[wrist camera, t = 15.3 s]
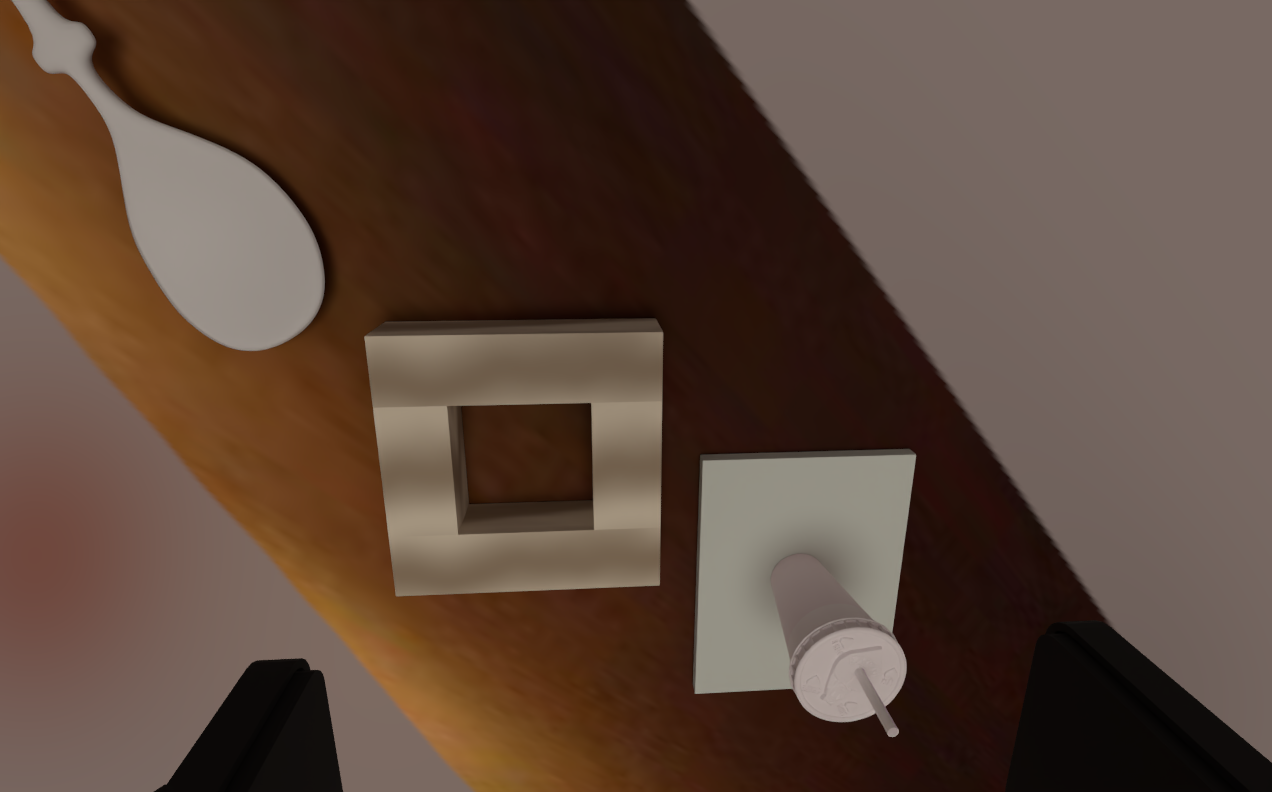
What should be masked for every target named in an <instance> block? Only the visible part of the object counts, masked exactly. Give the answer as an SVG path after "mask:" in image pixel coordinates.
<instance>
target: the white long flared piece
mask: <svg viewBox="0 0 1272 792" xmlns="http://www.w3.org/2000/svg"><path fill="white" fill-rule="evenodd" d="M12 2H13V3H14V4H15V6H16V7H17V9H18V10H19V12H20V13H21V15H22V16H23V18H24V20H25V21H26V23H27V24H28V26H29V28H30V31H31V33H32V35H33V41H34V45H33V51H32V54H33V57H34V59H35V61H36V62H37V63H38V65H39V66H40V67H41V68H42V69H43V70H44V71H46V72H47V73H51V74H56V73H65V74H68V75H69V76H71V77H72V78H73V79H74V80H75V81H76V82H77V83H78V84H79V85H80V87H81V88H82V89H83V90H84V92H85V93H86V94H87V95H88V97H89V98H90V99H91V101H92V102H93V104H94V105H95V106H96V108H97V110H98V111H99V113H100V114H101V116H102V118H103V119H104V121H105V123H106V125H107V127H108V129H109V131H110V134H111V136H112V139H113V143H114V146H115V150H116V155H117V160H118V165H119V170H120V176H121V183H122V189H123V195H124V201H125V207H126V212H127V217H128V221H129V225H130V229H131V232H132V235H133V238H134V240H135V243H136V245H137V248H138V250H139V252H140V254H141V256H142V258H143V260H144V262H145V263H146V265H147V267H148V269H149V270H150V272H151V274H152V275H153V277H154V279H155V280H156V282H157V283H158V285H159V287H160V288H161V290H162V291H163V293H164V294H165V296H166V297H167V298H168V300H169V301H170V302H171V304H172V305H173V306H174V308H175V309H176V310H177V311H178V312H179V313H180V314H181V315H182V316H183V317H184V318H185V319H186V320H187V321H188V322H189V323H190V324H191V325H192V326H194V327H195V328H196V329H197V330H199V331H200V332H201V333H203V334H204V335H206V336H207V337H209V338H210V339H212V340H214V341H216V342H217V343H219V344H222V345H224V346H226V347H229V348H232V349H237V350H242V351H259V350H265V349H269V348H273V347H276V346H278V345H281V344H283V343H285V342H287V341H289V340H290V339H292V338H294V337H295V336H297V335H298V334H299V333H301V332H302V331H303V330H304V329H305V328H306V327H307V326H308V325H309V324H310V323H311V322H312V320H313V319H314V318H315V316H316V314H317V312H318V311H319V308H320V306H321V304H322V300H323V297H324V290H325V275H324V267H323V261H322V257H321V253H320V250H319V246H318V243H317V241H316V238H315V236H314V234H313V232H312V230H311V228H310V226H309V224H308V223H307V221H306V219H305V218H304V216H303V215H302V213H301V212H300V210H299V209H298V208H297V206H296V205H295V204H294V203H293V201H292V200H291V199H290V198H289V196H288V195H287V194H286V193H285V192H284V191H283V190H282V189H281V188H280V186H279V185H278V184H277V183H276V182H275V181H273V180H272V179H271V178H270V177H269V176H268V175H267V174H266V173H265V172H263V171H262V170H261V169H260V168H258V167H257V166H256V165H254V164H253V163H251V162H250V161H248V160H247V159H245V158H243V157H242V156H240V155H238V154H236V153H234V152H232V151H230V150H228V149H226V148H224V147H222V146H220V145H217V144H215V143H213V142H210V141H208V140H206V139H203V138H201V137H198V136H195V135H193V134H190V133H188V132H185V131H182V130H180V129H177V128H174V127H171V126H168V125H166V124H163V123H160V122H158V121H156V120H153V119H151V118H149V117H147V116H145V115H143V114H141V113H139V112H137V111H136V110H134V109H133V108H132V107H130V106H129V105H128V104H126V103H125V102H124V101H123V100H121V99H120V98H119V97H118V96H117V95H116V94H115V93H114V92H113V91H112V90H111V89H110V88H109V87H108V86H107V85H106V84H105V83H104V82H103V80H102V79H101V78H100V76H99V75H98V73H97V72H96V70H95V68H94V66H93V63H92V55H93V52H94V49H95V47H96V39H95V37H94V35H93V34H92V32H91V31H90V30H89V28H88V27H87V26H86V25H84V24H83V23H82V22H75V21H70V20H68V19H65V18H64V17H62V16H61V15H60V14H59V13H58V12H57V11H56V10H55V9H54V8H53V7H52V6H51V4H50V3H49V2H48V1H47V0H12Z"/></svg>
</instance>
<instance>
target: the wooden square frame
mask: <svg viewBox="0 0 1272 792" xmlns="http://www.w3.org/2000/svg"><path fill="white" fill-rule="evenodd" d="M364 337H365V346H366V354H367V362H368V370H369V379H370V387H371V395H372V403H373V411H374V420H375V428H376V436H377V444H378V453H379V461H380V469H381V477H382V486H383V494H384V502H385V510H386V518H387V527H388V535H389V543H390V551H391V560H392V568H393V576H394V584H395V593H396V596H415V595H439V594H463V593H487V592H511V591H535V590H559V589H583V588H607V587H631V586H655V585H660V524H661V450H662V376H663V331H662V329H661V327H660V325H659V324H658V322H657V320H656V318H632V319H556V320H480V321H403V322H384V323H383V324H381V325H380V326H378V327H377V328H376V329H374V330H373V331H371V332H370V333H369V334H367V335H366V336H364ZM562 403H591V424H592V475H593V500H582V501H551V502H520V503H489V504H469V498H468V486H467V473H466V461H465V449H464V436H463V424H462V411H461V406H471V405H517V404H562Z"/></svg>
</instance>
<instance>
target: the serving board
mask: <svg viewBox="0 0 1272 792" xmlns="http://www.w3.org/2000/svg"><path fill="white" fill-rule="evenodd" d="M915 460H916V454H915V453H914V452H912V451H911V450H910V449H886V450H850V451H814V452H778V453H742V454H707V455H700V478H699V509H698V540H697V571H696V603H695V634H694V665H693V687H694V691H695V694H699V693H718V692H737V691H755V690H774V689H793V688H792V687H791V683H790V678H789V666H790V658H789V654H788V649H787V645H786V641H785V637H784V633H783V629H782V625H781V621H780V617H779V613H778V609H777V605H776V601H775V597H774V593H773V589H772V585H771V575H772V572H773V570H774V568H775V566H776V565H777V564H778V563H779V562H780V561H781V560H782V559H784V558H786V557H788V556H790V555H794V554H808V555H811V556H813V557H815V558H816V559H817V560H818V561H819V562H820V563H821V564H822V565H823V566H824V567H825V568H826V569H827V570H828V572H829V573H830V574H831V575H832V576H833V577H834V578H835V579H836V580H837V581H838V582H839V584H840V585H841V586H842V587H843V588H844V589H845V590H846V591H847V592H848V593H849V594H850V596H851V597H852V598H853V599H854V600H855V601H856V602H857V603H858V604H859V605H860V606H861V607H862V609H863V610H864V611H865V612H866V613H867V614H868V615H869V616H870V617H871V618H872V619H873V620H874V621H876V622H878V623H880V624H882V625H884V626H885V627H886V628H887V629H888V630H889V631H890V632H891V633H892V630H893V622H894V615H895V608H896V600H897V593H898V585H899V578H900V571H901V563H902V556H903V548H904V541H905V534H906V526H907V519H908V512H909V504H910V497H911V489H912V482H913V475H914V467H915Z"/></svg>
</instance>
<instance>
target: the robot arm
mask: <svg viewBox="0 0 1272 792" xmlns="http://www.w3.org/2000/svg"><path fill="white" fill-rule="evenodd" d="M154 792H343V790H342V783H341V777H340V771H339V765H338V759H337V753H336V747H335V741H334V735H333V729H332V723H331V717H330V711H329V704H328V699H327V692H326V687H325V680H324V676H323V674H322V672H321V671H319V670H310V667H309V664H308V663H307V661H306V660H305V659H302V658H301V659H280V660H259V661H255V662H253V663H251V664H250V666H249V667H248V668H247V669H246V670H245V672H244V673H243V675H242V676H241V678H240V679H239V680H238V682H237V683H236V685H235V686H234V688H233V689H232V691H231V692H230V694H229V695H228V697H227V698H226V699H225V701H224V702H223V704H222V705H221V707H220V708H219V709H218V711H217V712H216V714H215V715H214V717H213V718H212V720H211V721H210V723H209V724H208V726H207V727H206V728H205V730H204V731H203V733H202V734H201V736H200V737H199V739H198V740H197V741H196V743H195V744H194V746H193V747H192V749H191V750H190V752H189V753H188V754H187V756H186V757H185V759H184V760H183V762H182V763H181V765H180V766H179V767H178V769H177V770H176V772H175V773H174V775H173V776H172V778H171V779H170V780H169V782H168V783H167V785H163V786H162V787H160V788H159V789H157V790H156V791H154ZM1005 792H1272V763H1271V762H1270V761H1269V760H1268V759H1267V758H1265V757H1264V756H1263V755H1262V754H1261V753H1259V752H1258V751H1257V750H1256V749H1255V748H1253V747H1252V746H1251V745H1250V744H1249V743H1247V742H1246V741H1245V740H1244V739H1243V738H1242V737H1240V736H1239V735H1238V734H1237V733H1236V732H1235V731H1233V730H1232V729H1231V728H1230V727H1229V726H1227V725H1226V724H1225V723H1224V722H1223V721H1221V720H1220V719H1219V718H1218V717H1217V716H1215V715H1214V714H1213V713H1212V712H1211V711H1210V710H1208V709H1207V708H1206V707H1204V705H1202V704H1201V703H1200V702H1199V701H1198V700H1197V699H1195V698H1194V697H1193V696H1192V695H1191V694H1189V693H1188V692H1187V691H1186V690H1185V689H1184V688H1182V687H1181V686H1180V685H1179V684H1178V683H1176V682H1175V681H1174V680H1173V679H1171V678H1170V677H1169V676H1168V675H1167V674H1166V673H1165V672H1163V671H1162V670H1161V669H1159V668H1158V667H1157V666H1156V665H1155V664H1154V663H1153V662H1151V661H1150V660H1149V659H1148V658H1147V657H1146V656H1144V655H1143V654H1142V653H1141V652H1140V651H1138V650H1137V649H1136V648H1135V647H1134V646H1132V645H1131V644H1130V643H1129V642H1128V641H1126V640H1125V639H1124V638H1123V637H1122V636H1121V635H1119V634H1118V633H1117V632H1116V631H1115V630H1113V629H1112V628H1111V627H1110V626H1108V625H1107V624H1105V623H1103V622H1100V621H1096V620H1094V621H1073V622H1057V623H1053V624H1051V625H1050V626H1049V628H1048V629H1047V631H1046V634H1045V635H1041V636H1040V637H1039V638H1038V640H1037V643H1036V647H1035V651H1034V656H1033V661H1032V665H1031V670H1030V675H1029V680H1028V684H1027V689H1026V694H1025V698H1024V703H1023V708H1022V713H1021V717H1020V722H1019V727H1018V731H1017V736H1016V741H1015V746H1014V750H1013V755H1012V760H1011V764H1010V769H1009V774H1008V779H1007V783H1006V791H1005Z"/></svg>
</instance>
